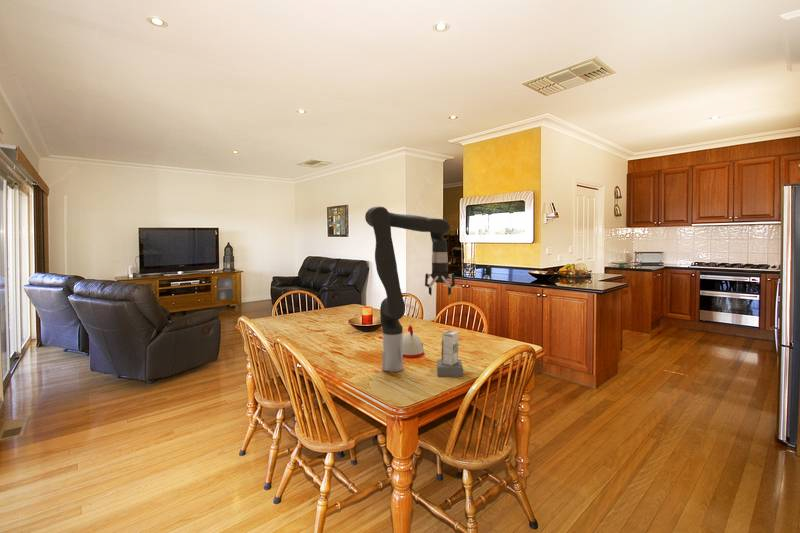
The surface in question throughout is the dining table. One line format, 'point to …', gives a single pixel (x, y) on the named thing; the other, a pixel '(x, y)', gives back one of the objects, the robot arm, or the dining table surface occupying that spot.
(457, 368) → the grey block
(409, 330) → the kitchen timer
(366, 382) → the dining table surface
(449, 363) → the syrup box
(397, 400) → the dining table surface
